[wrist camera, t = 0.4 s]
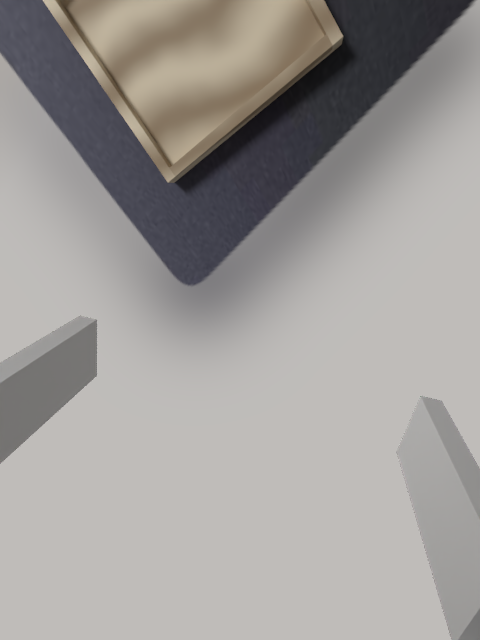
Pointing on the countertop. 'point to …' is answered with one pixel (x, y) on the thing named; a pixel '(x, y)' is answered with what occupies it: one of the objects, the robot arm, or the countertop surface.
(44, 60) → the countertop surface
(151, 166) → the countertop surface
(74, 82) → the countertop surface
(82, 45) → the birch tray
